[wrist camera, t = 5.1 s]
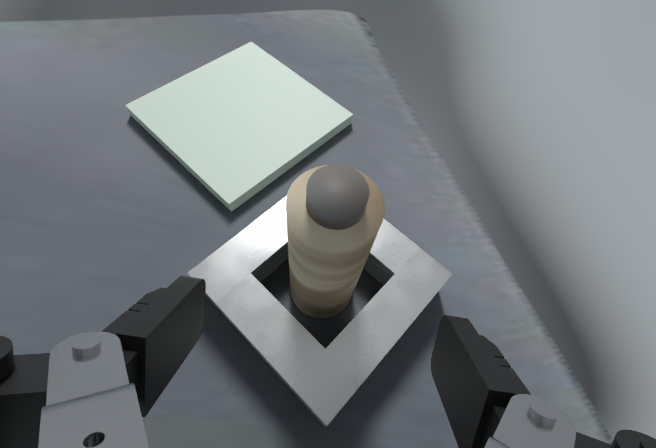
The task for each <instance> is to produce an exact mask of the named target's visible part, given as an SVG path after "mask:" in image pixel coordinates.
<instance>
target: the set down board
mask: <svg viewBox="0 0 656 448" xmlns="http://www.w3.org/2000/svg"><path fill="white" fill-rule="evenodd" d="M125 106H126V108H127V110H128V112H129V114H130V115H131V116H132V117H133V118H134V119H135V120H136V121H137V122H138V123H139V124H140V125H141V126H142V127H143V128H144V129H145V130H146V131H147V132H149V133H150V134H151V135H152V136H153V137H154V138H155V139H156V140H157V141H158V142H159V143H160V144H161V145H162V146H163V147H164V148H165V149H166V150H167V151H168V152H169V153H170V154H171V155H172V156H174V157H175V158H176V159H177V160H178V161H179V162H180V163H181V164H182V165H183V166H184V167H185V168H186V169H187V170H188V171H189V172H190V173H191V174H192V175H193V176H194V177H195V178H196V179H198V180H199V181H200V182H201V183H202V184H203V185H204V186H205V187H206V188H207V189H208V190H209V191H210V192H211V193H212V194H213V195H214V196H215V197H216V198H217V199H218V200H219V201H220V202H221V203H223V204H224V205H225V206H226V207H227V208H228V209H229V210H230V211H231V212H232V211H233V210H234V209H236V208H237V207H239V206H240V205H241V204H243V203H244V202H245V201H247V200H248V199H249V198H251V197H252V196H253V195H255V194H256V193H258V192H259V191H260V190H262V189H263V188H264V187H266V186H267V185H268V184H270V183H271V182H272V181H274V180H275V179H277V178H278V177H279V176H281V175H282V174H283V173H285V172H286V171H287V170H289V169H290V168H291V167H293V166H294V165H296V164H297V163H298V162H300V161H301V160H302V159H304V158H305V157H306V156H308V155H309V154H311V153H312V152H313V151H315V150H316V149H317V148H319V147H320V146H321V145H323V144H324V143H325V142H327V141H328V140H330V139H331V138H332V137H334V136H335V135H336V134H338V133H339V132H340V131H342V130H343V129H344V128H346V127H347V126H349V125H350V124H351V123H352V118H353V114H352V113H350V112H349V111H348V110H346V109H345V108H343V107H342V106H341V105H339V104H338V103H336V102H335V101H334V100H332V99H331V98H329V97H328V96H327V95H325V94H324V93H322V92H321V91H320V90H318V89H317V88H315V87H314V86H313V85H311V84H310V83H308V82H307V81H306V80H304V79H303V78H301V77H300V76H299V75H297V74H296V73H294V72H293V71H292V70H290V69H289V68H287V67H286V66H285V65H283V64H282V63H280V62H279V61H278V60H276V59H275V58H273V57H272V56H271V55H269V54H268V53H267V52H265V51H264V50H262V49H261V48H260V47H258V46H257V45H255V44H254V43H253V42H249V43H247V44H245V45H243V46H242V47H240V48H238V49H236V50H234V51H232V52H230V53H228V54H226V55H224V56H222V57H220V58H218V59H216V60H214V61H212V62H210V63H208V64H206V65H204V66H202V67H200V68H198V69H196V70H194V71H192V72H190V73H188V74H186V75H184V76H182V77H180V78H178V79H176V80H174V81H172V82H170V83H168V84H166V85H164V86H162V87H160V88H158V89H156V90H154V91H152V92H151V93H149V94H147V95H145V96H143V97H141V98H139V99H137V100H135V101H133V102H131V103H129V104H127V105H125Z"/></svg>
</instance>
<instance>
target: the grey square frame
mask: <svg viewBox="0 0 656 448" xmlns="http://www.w3.org/2000/svg"><path fill="white" fill-rule="evenodd" d="M286 197H287V196H286ZM286 197H285V198H283V199H282V200H281V201H280V202H278V203H277V204H276V205H274V206H273V207H272V208H270V209H269V210H268V211H267V212H265V213H264V214H263V215H261V216H260V217H259V218H258V219H256V220H255V221H254V222H252V223H251V224H250V225H249V226H247V227H246V228H245V229H243V230H242V231H241V232H240V233H238V234H237V235H236V236H234V237H233V238H232V239H231V240H229V241H228V242H227V243H225V244H224V245H223V246H221V247H220V248H219V249H218V250H216V251H215V252H214V253H212V254H211V255H210V256H209V257H207V258H206V259H205V260H203V261H202V262H201V263H200V264H198V265H197V266H196V267H194V268H193V269H192V270H191V271H189V272H188V274H189V275H190V277H193V278H200V279H204V280H205V283H206V292H205V296H206V297H207V298H208V299H209V300H210V301H211V302H212V303H213V304H214V306H215V307H216V308H217V309H218V310H219V311H220V312H221V313H222V314H223V315H224V317H225V318H226V319H227V320H228V321H229V322H230V323H231V324H232V325H233V327H234V328H235V329H236V330H237V331H238V332H239V333H240V334H241V335H242V337H243V338H244V339H245V340H246V341H247V342H248V343H249V344H250V345H251V346H252V348H253V349H254V350H255V351H256V352H257V353H258V354H259V355H260V356H261V358H262V359H263V360H264V361H265V362H266V363H267V364H268V365H269V366H270V368H271V369H272V370H273V371H274V372H275V373H276V374H277V375H278V376H279V377H280V379H281V380H282V381H283V382H284V383H285V384H286V385H287V386H288V387H289V389H290V390H291V391H292V392H293V393H294V394H295V395H296V396H297V397H298V399H299V400H300V401H301V402H302V403H303V404H304V405H305V406H306V407H307V408H308V410H309V411H310V412H311V413H312V414H313V415H314V416H315V417H316V418H317V420H318V421H319V422H320V423H321V424H322V425H323V426H328V424H329V423H330V422H331V421H332V420H333V418H334V417H335V416H336V415H337V413H338V412H339V411H340V410H341V409H342V407H343V406H344V405H345V404H346V403H347V401H348V400H349V399H350V398H351V396H352V395H353V394H354V393H355V392H356V390H357V389H358V388H359V387H360V386H361V384H362V383H363V382H364V381H365V379H366V378H367V377H368V376H369V375H370V373H371V372H372V371H373V370H374V369H375V367H376V366H377V365H378V364H379V363H380V361H381V360H382V359H383V358H384V356H385V355H386V354H387V353H388V352H389V350H390V349H391V348H392V347H393V346H394V344H395V343H396V342H397V341H398V339H399V338H400V337H401V336H402V335H403V333H404V332H405V331H406V330H407V329H408V327H409V326H410V325H411V324H412V323H413V321H414V320H415V319H416V318H417V316H418V315H419V314H420V313H421V312H422V310H423V309H424V308H425V307H426V306H427V304H428V303H429V302H430V301H431V299H432V298H433V297H434V296H435V295H436V293H437V292H438V291H439V290H440V289H441V287H442V286H443V285H444V284H445V282H446V281H447V280H448V279H449V278H450V276H451V275H452V273H451V272H449V271H448V270H447V269H446V268H444V267H443V266H442V265H441V264H439V263H438V262H437V261H436V260H434V259H433V258H432V257H431V256H429V255H428V254H427V253H426V252H424V251H423V250H422V249H421V248H420V247H418V246H417V245H416V244H415V243H413V242H412V241H411V240H410V239H408V238H407V237H406V236H405V235H403V234H402V233H401V232H400V231H398V230H397V229H396V228H395V227H393V226H392V225H391V224H390V223H389V222H387V221H386V220H385V219H384V218H383V222H382V224H381V226H380V229H379V231H378V234H377V236H376V239H375V241H374V243H373V246H372V248H371V251H370V253H369V255H368V258H367V260H366V263H365V265H364V269H365V270H366V271H367V272H368V273H369V274H370V275H372V276H373V277H374V278H375V279H376V280H377V281H378V282H380V283H381V284H382V285H383V287H382V288H381V289H380V290H379V291H378V293H377V294H376V295H375V296H374V297H373V298H372V299H371V300H370V301H369V302H368V303H367V304H366V306H365V307H364V308H363V309H362V310H361V311H360V312H359V313H358V314H357V315H356V316H355V317H354V319H353V320H352V321H351V322H350V323H349V324H348V325H347V326H346V327H345V328H344V329H343V330H342V331H341V333H340V334H339V335H338V336H337V337H336V338H335V339H334V340H333V341H332V342H331V343H330V344H329V346H328V347H327V348H326V349H325V348H324V347H323V346H322V345H321V344H320V343H319V342H318V341H317V340H316V339H315V338H314V337H313V336H312V335H311V334H310V333H309V332H308V331H307V330H306V329H305V328H304V327H303V326H302V325H301V324H300V323H299V322H298V321H297V320H296V319H295V318H294V317H293V316H292V315H291V314H290V313H289V312H288V310H287V309H286V308H285V307H284V306H283V305H282V304H281V303H280V302H279V301H278V300H277V299H276V298H275V297H274V296H273V295H272V294H271V293H270V292H269V291H268V290H267V289H266V288H265V287H264V286H263V285H262V284H261V282H262V281H263V280H265V279H266V278H267V277H268V276H269V275H270V274H271V273H273V272H274V271H275V270H276V269H277V268H278V267H279V266H281V265H282V264H283V263H284V262H285V261H286V260H287V259H289V255H288V237H287V219H286Z"/></svg>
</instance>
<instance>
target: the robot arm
mask: <svg viewBox="0 0 656 448" xmlns="http://www.w3.org/2000/svg"><path fill="white" fill-rule="evenodd" d="M205 292H206V283H205V280H204V279H200V278H193V277H186V276H180V277H179V278H178V279H177V280H175V281H174V282H173V283H172V284H171V285H170V286H169V287H168V288H160V289H157V290H155V291H153V292H150V293H148V294H146V295H145V296H144V297H143V298H141V299H140V300H139V301H138V302H137V304H134V305H133V306H132V307H130V308H129V310H128V311H126V312H124V313H123V314H122V315H121V316H120V317H118V318H117V319H116V320H115V321H114V322H112V323H111V324H110V325H109V326H108V327H106V328H105V329H104V330H103V331H102V332H101V331H95V332H86V333H81V334H78V335H74V336H72V337H69V338H67V339H65V340H63V341H61V342H60V343H58V344H57V345H56V346H55V347H54V348H53V349H52V350H51V352H50V353H45V354H28V355H14V354H13V344H12V341H11V340H10V339H8V338H7V337H4V336H0V448H149V447H148V442H147V438H146V433H145V429H144V424H143V420H142V417H145V416H146V415H147V413H148V412H149V411H150V409H151V408H152V406H153V405H154V403H155V402H156V400H157V399H158V397H159V396H160V395H161V393H162V392H163V390H164V389H165V387H166V386H167V384H168V383H169V382H170V380H171V379H172V377H173V376H174V374H175V373H176V371H177V370H178V369H179V367H180V366H181V364H182V363H183V361H184V360H185V358H186V357H187V356H188V354H189V353H190V351H191V350H192V348H193V347H194V345H195V344H196V343H197V341H198V339H199V337H200V335H201V332H202V329H203V324H204V310H205ZM431 372H432V376H433V379H434V382H435V384H436V387H437V390H438V393H439V395H440V398H441V401H442V403H443V406H444V409H445V411H446V414H447V417H448V420H449V422H450V425H451V428H452V430H453V433H454V436H455V438H456V441H457V444H458V447H459V448H656V439H654V438H652V437H650V436H648V435H645V434H642V433H639V432H636V431H632V430H620V431H618V432H617V434H616V436H615V438H614V440H613V442H612V445H610V444H608V443H605V442H602V441H600V440H597V439H594V438H591V437H589V436H586V435H583V434H580V433H578V432H576V428H575V426H574V424H573V422H572V421H571V419H570V418H569V417H568V416H567V415H566V414H565V413H564V412H563V411H561V410H560V409H559V408H557V407H556V406H554V405H553V404H551V403H549V402H548V401H546V400H544V399H541V398H539V397H536V396H533V395H531V394H530V392H529V391H528V390H527V388H526V387H525V385H524V384H523V383H522V381H521V380H520V378H519V377H518V376H517V374H516V373H515V372H514V370H513V369H511V366H510V365H509V363H508V362H507V360H506V359H504V356H503V355H502V353H501V352H500V351H499V349H498V348H497V347H496V346H495V345H494V344H493V343H492V342H490V341H489V340H488V339H487V338H485V337H484V336H481V335H479V334H478V333H477V331H476V330H475V328H474V327H473V325H472V324H471V322H470V321H469V320H468V319H467V318H460V317H454V316H447V315H444V316H443V317H442V319H441V321H440V325H439V329H438V333H437V337H436V341H435V345H434V349H433V353H432V358H431Z"/></svg>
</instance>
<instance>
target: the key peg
mask: <svg viewBox="0 0 656 448" xmlns="http://www.w3.org/2000/svg"><path fill="white" fill-rule="evenodd" d="M384 213H385V204H384V199H383V197H382V194H381V192H380V190H379V188H378V187H377V186H376V184H375V183H374V182H373V181H372V180H371V179H370V178H369V177H367V176H366V175H365V174H363V173H361V172H360V171H358V170H355V169H353V168H351V167H348V166H345V165H338V164H335V165H324V166H319V167H315V168H312V169H310V170H308V171H306V172H304V173H303V174H301V175H300V176H299V177H298V178H297V179H296V180H295V181H294V182H293V184H292V185H291V187H290V189H289V191H288V193H287V197H286V219H287V237H288V255H289V273H290V291H291V297H292V300H293V302H294V304H295V305H296V307H297V308H298V309H299V310H300V311H301V312H303V313H304V314H306V315H307V316H310V317H313V318H317V319H327V318H331V317H334V316H336V315H338V314H339V313H341V312H342V311H343V310H344V309H345V308H346V307H347V305H348V303H349V301H350V299H351V297H352V294H353V292H354V289H355V287H356V285H357V282H358V280H359V277H360V275H361V272H362V270H363V268H364V265H365V263H366V260H367V258H368V255H369V253H370V251H371V248H372V246H373V243H374V241H375V239H376V236H377V234H378V231H379V229H380V226H381V224H382V222H383V218H384Z"/></svg>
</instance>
